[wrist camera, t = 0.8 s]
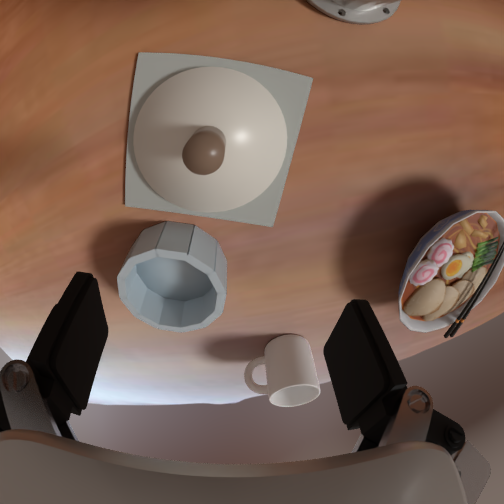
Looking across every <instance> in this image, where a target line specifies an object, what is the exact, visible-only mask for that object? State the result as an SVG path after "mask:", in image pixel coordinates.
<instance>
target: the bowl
mask: <svg viewBox="0 0 504 504" xmlns="http://www.w3.org/2000/svg"><path fill="white" fill-rule="evenodd" d="M117 282H118V290H119V297H120V299H121V301H122V302H123V303H124V304H125V306H126V307H127V308H128V309H129V311H130V312H131V313H132V314H133V316H135V317H136V318H138V319H140V320H141V321H143V322H145V323H147V324H149V325H151V326H153V327H154V328H157V327H158V329H161V330H168V331H174V332H181V333H182V332H188V331H192V330H197V329H201V328H205V327H207V326H208V325H209V324H211V323H212V322H213V321H214V320H215V319H217V318H218V317H219V316H220V315H221V314H222V313H223V308H224V303H225V299H226V294H227V260H226V258H225V256H224V254H223V252H222V250H221V247H220V245H219V243H218V241H217V240H216V239H214V238H213V237H212V236H210V235H209V234H207V233H206V232H204V231H203V230H201V229H200V228H199V227H197V226H196V225H195V226H194V225H192V224H185V223H178V222H171V221H167V222H166V221H165V222H162V223H160V224H157V225H154V226H152V227H149V228H147V229H144V230H143V231H142V232H141V234H140V235H139V236H138V238H137V239H136V241H135V242H134V244H133V245H132V247H131V249H130V251H129V253H128V255H127V257H126V259H125V261H124V263H123V265H122V267H121V269H120V271H119V273H118V276H117Z"/></svg>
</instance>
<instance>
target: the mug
mask: <svg viewBox="0 0 504 504" xmlns="http://www.w3.org/2000/svg"><path fill="white" fill-rule="evenodd" d="M262 364H265V367H266V376H267V385H258V384H256V383H255V382H254V381H253V378H252V372H253V370H254V368H255V367H256V366H258V365H262ZM244 378H245V382H246V384H247V386H248V387H249V388H250V389H251V390H252V391H254V392H256V393H259V394H268V395H269V401H270V402H271V403H272V404H273V405H276V406H281V407H291V406H298V405H302V404H305V403H308V402H310V401H312V400H314V399H315V398H317V397H318V395H319V394H320V387H319V382H318V378H317V373H316V369H315V365H314V360H313V356H312V352H311V348H310V344H309V342H308V341H307V340H306V339H305V338H304V337H302V336H299V335H293V334H289V335H283V336H279V337H277V338H275V339H273V340H271V341H270V342H269V343H268V344H267V345H266V347H265V350H264V356H262V357H258V358H256V359H254V360H252V361H251V362H250V363H249V364H248V365H247V367H246V369H245V373H244Z"/></svg>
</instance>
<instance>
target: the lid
mask: <svg viewBox="0 0 504 504" xmlns="http://www.w3.org/2000/svg"><path fill="white" fill-rule="evenodd" d="M133 146H134V154H135V158H136V161H137V164H138V167H139V169H140V171H141V173H142V175H143V177H144V178H145V180H146V181H147V183H148V184H149V185H150V186H151V188H152V189H153V190H154V191H155V192H156V193H158V194H159V195H160V196H161V197H163V198H164V199H165V200H167V201H169V202H170V203H172V204H174V205H176V206H179V207H181V208H184V209H187V210H191V211H196V212H206V213H212V212H222V211H228V210H231V209H235V208H238V207H240V206H243V205H245V204H247V203H248V202H250V201H252V200H254V199H255V198H256V197H258V196H259V195H260V194H262V193H263V192H264V191H265V190H266V189H267V188H268V187H269V186H270V184H271V183H272V182H273V181H274V179H275V178H276V176H277V175H278V173H279V171H280V169H281V167H282V164H283V161H284V158H285V154H286V149H287V128H286V123H285V119H284V116H283V114H282V111H281V109H280V107H279V105H278V103H277V102H276V100H275V99H274V97H273V96H272V95H271V93H270V92H269V91H268V90H267V89H266V88H265V87H264V86H263V85H262V84H260V83H259V82H258V81H256V80H255V79H253V78H252V77H250V76H248V75H246V74H244V73H241V72H239V71H236V70H233V69H228V68H224V67H199V68H194V69H190V70H187V71H184V72H181V73H179V74H177V75H175V76H173V77H171V78H169V79H168V80H166V81H165V82H163V83H162V84H161V85H160V86H158V87H157V88H156V89H155V90H154V91H153V92H152V93H151V95H150V96H149V97H148V98H147V100H146V101H145V103H144V104H143V106H142V108H141V110H140V112H139V114H138V117H137V120H136V124H135V128H134V135H133Z"/></svg>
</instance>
